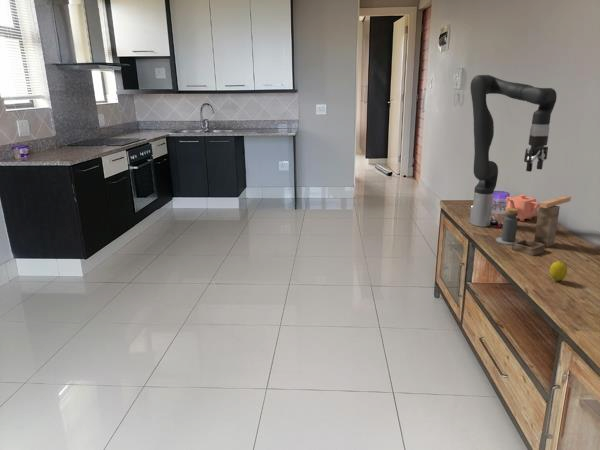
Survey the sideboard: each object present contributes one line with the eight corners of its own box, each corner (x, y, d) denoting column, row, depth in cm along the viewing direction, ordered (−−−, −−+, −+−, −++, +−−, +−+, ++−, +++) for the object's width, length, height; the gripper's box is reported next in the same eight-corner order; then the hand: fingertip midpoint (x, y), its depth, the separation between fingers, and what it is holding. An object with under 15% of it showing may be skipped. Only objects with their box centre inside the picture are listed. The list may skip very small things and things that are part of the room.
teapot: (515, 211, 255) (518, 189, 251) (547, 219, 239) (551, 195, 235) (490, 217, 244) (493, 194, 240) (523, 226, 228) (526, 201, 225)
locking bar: (539, 206, 194) (539, 202, 194) (563, 199, 205) (564, 195, 205) (546, 208, 192) (546, 203, 191) (570, 201, 203) (571, 196, 202)
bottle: (516, 242, 203) (520, 211, 199) (502, 241, 204) (506, 210, 200) (513, 238, 208) (517, 207, 204) (500, 238, 209) (503, 207, 205)
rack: (511, 249, 196) (516, 210, 190) (536, 240, 207) (542, 203, 201) (532, 255, 188) (538, 215, 183) (557, 245, 199) (563, 207, 194)
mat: (491, 240, 207) (491, 239, 207) (504, 236, 213) (504, 235, 213) (511, 246, 199) (511, 245, 199) (524, 242, 205) (524, 241, 205)
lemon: (544, 278, 166) (548, 258, 163) (558, 277, 166) (562, 257, 164) (554, 284, 160) (557, 264, 158) (568, 283, 161) (572, 263, 158)
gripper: (539, 132, 205) (534, 167, 209) (521, 134, 197) (517, 170, 202) (556, 134, 199) (550, 169, 203) (538, 136, 191) (533, 173, 196)
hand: (534, 170), depth 203 cm, fingers open, 8 cm apart
